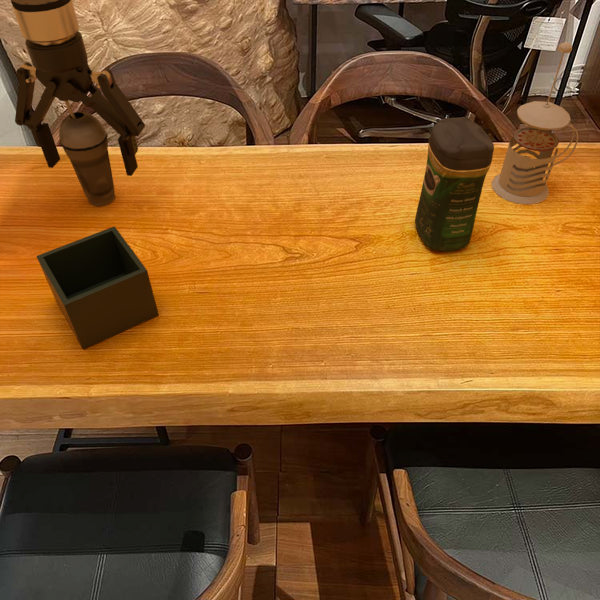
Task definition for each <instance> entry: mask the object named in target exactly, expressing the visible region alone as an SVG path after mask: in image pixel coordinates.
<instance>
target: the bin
mask: <svg viewBox="0 0 600 600" xmlns="http://www.w3.org/2000/svg"><path fill="white" fill-rule="evenodd" d="M36 258H37V261H38V263H39V266H40V268H41V270H42V272H43V275H44V277H45V279H46V282H47V284H48V286H49V288H50V291H51V293H52V296H53V298H54V299H55V302H56V304H57V306H58V307H59V309H60V311H61V313H62V314H63V317H64V318H65V320H66V322H67V323H68V326H69V327H70V330H71V331H72V333H73V335H74V337H75V338H76V340H77V342H78V343H79V345H80V348H81V349H82V350H86V349H88V348H91V347H92V346H95V345H97V344H99V343H102V342H103V341H105V339H106V340H108V339H110V338H113V337H114V336H116V335H119V334H121V333H123V332H125V331H128V330H129V329H132V328H134V327H136V326H138V325H140V324H143V323H145V322H147V321H150V320H152V319H154V318H157V317H158V316H159V315H160V314H159V311H158V306H157V303H156V299H155V295H154V292H153V288H152V283H151V279H150V276H149V271H148V269H147V268H146V267H145V265H144V264H143V262H142V261H141V260H140V258H139V257H138V255H137V254H136V253H135V252H134V250H133V249H132V248H131V246H130V245H129V243H128V242H127V241H126V240H125V238H124V237H123V235H122V234H121V233H120V231H119V230H118V228H117V227H116V226H111V227H108V228H106V229H104V230H101V231H98V232H95V233H93V234H90V235H87V236H85V237H83V238H82V237H81V238H80V239H77V240H75V241H72V242H70V243H67V244H64V245H62V246H59V247H56V248H54V249H51V250H47V251H46V252H43V253H40V254H38V255H36Z"/></svg>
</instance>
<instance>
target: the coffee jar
mask: <svg viewBox="0 0 600 600" xmlns="http://www.w3.org/2000/svg"><path fill="white" fill-rule="evenodd" d="M494 150H495V143H494V142H493V141H492V139H491V138H490V136H489V135H488V134H487V132H486V131H485V130H484V129H483V127H481V126H480V125H479V124H478V123H476V122H474V120H471V119H470V118H469V117H467V116H465V117H463V116H461V117H446V118H442V119H440V120H439V121H438V122H437V123H436V124H435V125H434V126H433V128H432V130H431V132H430V137H429V140H428V145H427V158H426V166H425V170H424V171H425V172H424V177H423V181H422V185H421V191H420V196H419V200H418V204H417V208H416V213H415V216H414V217H415V218H414V225H415V229H416V232H417V234H418V236H419V237H420V239H421V241H422V242H423V244H424V246H426V247H427V248H428V249H430V250H433V251H436V252H444V253H445V252H447V253H448V252H450V253H451V252H457V251H459V250H462V249H465V248H467V247H468V246H469V245H470V242H471V240H472V235H473V231H474V227H475V222H476V218H477V217H476V216H477V212H478V208H479V204H480V199H481V195H482V192H483V187H484V183H485V180H486V177H487V174H488V172H489V171H490V168H491V166H492V162H493V156H494V152H495V151H494Z"/></svg>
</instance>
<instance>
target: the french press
mask: <svg viewBox="0 0 600 600" xmlns="http://www.w3.org/2000/svg"><path fill="white" fill-rule="evenodd" d="M557 51H558V52H560V53H562V55H561V58H560V61H559V65H558V67H557V71H556V72H555V73H556V74H555V76H554V79H553V82H552V86H551V89H550V92H549V94H548V95H549V96H548V98H547V101H539V100H534V101H529V102H526V103H524V104H522V105H520V106H519V107H518V108H517V110H516V113H517V118H518V119H519V120H520V122H522V123H523V124H524V125H526V126H524V127H520V128H518V129H516V130H515V131H514V133H513V134H512V137H511V138H510V140H509V143H508V145H507V150H506V152H505V156H504V160H503V163H502V166H501V170H500V173H499V174H497V175H495V176H494V177H493V178H492V180H491V189H492V190H493V191H494V193H496V195H497V196H499V197H501V198H503V199H504V200H505V201H508V202H511V203H514V204H518V205H519V204H520V205H535V204H539V203H542V202H543V201H545V200H547V199H548V197H549V195H550V189H549V186H548V185H547V182H548V180H549V178H550V174H551V173H552V170H553V167H555V166H556V165H559V164H562V163H564V162H565V161H567V159H568V158H570V157H571V155H572V154H573V153H574V151H575V150H576V148H577V145H578V142H579V133H578V130H577V129H576V128H575V126H574V125H573V123H572V122H571V117H570V113H569V112H568V111H566V109H564V107H563V106H562V107H561V106H560V105H557V104H555V103H553V102H552V101H550V99H551V96H552V93H553V90H554V87H555V85H556V84H555V83H556V81H557V77H558V75H559V72H560V68H561V65H562V63H563V59H564V56H565V54H571V52H572V51H573V46H572V43H571V42H570V41H569V42H568V41H564V42H562V43H559V45H558V47H557ZM568 127H569V128H570V129H572V135H571V139H570V142H569V143H568V145H567V146H566V148H565V149H564V150H563V151H562V152H561V153H559V154H558V152H559V149H558V145H559V144H560V140H559V137H558V136H557V135H556V134H555V133H554V132H553V131H557V130H560V131H561V132H562V133H565V131H566V130H567V128H568ZM563 128H564V129H563ZM575 137H576V139H575V143H574V145H573V148H572V150H571V151H570V152H569V154H568V155H567V156H566V157H565V158H563V159H562V160H560V161H556V162H555V160H556V159H557V158H559V157H561V156H563V154H565V153H566V152H567V150H568V149H569V148H570V146H571V145H572V143H573V140H574V138H575ZM514 146H515V147H514ZM513 147H514V148H513ZM521 148H524V149H521ZM518 149H519V150H518ZM554 149H555V150H554ZM517 150H518V151H517ZM537 152H538V153H537ZM522 154H528V155H530V156H533V158H532V157H529V156H527V155H522ZM557 154H558V155H557ZM552 155H553V156H552ZM534 157H535V158H534ZM544 178H545V179H544Z"/></svg>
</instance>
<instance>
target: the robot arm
mask: <svg viewBox="0 0 600 600" xmlns="http://www.w3.org/2000/svg"><path fill="white" fill-rule="evenodd" d="M10 3H11V6H12V9H13V11H14V15H15V18H16V22H17V24H18V27H19V30H20V33H21V36H22V37H23V38H24V39H25V47H26V49H27V53H28V54H29V55H28V56H29V58H30V61H31V62H28V61H25V62H24V63H23V64H22V65H20V67H19V68H17V69H16V70H15V71H16V72H15V73H16V77H17V82H18V91H17V98H16V99H17V100H16V106H15V116H14V123H15V124H16V125H17V126H25V127H27V129H28V130H30V131H31V135H32V137H33V140H34V142H35V145H36V146H37V147H38V148H41V151H42V153H43V157H44V159H45V163H46V164H47V167H48V168H49V169H50V168H51V169H53V168H55V166H56V165H57V164H58V162H60V160H61V157H60V153H59V150H58V148H57V144H56V142H55V139H54V137H53V133H52V131H51V128H50V125H49V123H48V122H43V121H45V117H46V115H47V113H48V112H49V110H50V108H51V106H52V104H53V102H54V100H55V99H58V101H59V102H65V101H67V100H68V101H70V102H73V103H80V102H81V103H82V104H83V105H84V106H86V107H87V108H91V109H92V110H93V111H94V112H95V113H96V114H97V115H98V116H99V117H100V118H101V119H102V120H103V121H104V122H105V123H107V125H109V126H110V127H111V128H112V129H113V130H114V131H115V132H116V133H117V134H118V135H119V137H118V138H117V143H118V146H119V151H120V154H121V158H122V162H123V165H124V169H125V173H126V176H127V177H132V176H133V175H134V174H135V172H136V170H137V169H138V167H139V166H138V161H137V157H136V154H137V153H138V151H139V147H138V142H137V138H136V137H139V136H140V135H141V134H142V132H143V130H145V127H146V124H145V122H144V121H143V120H142V117H140V115H139V114H138V113H137V111H136V110H135V108H134V107H133V106H132V104H131V103H130V100H129V99H128V98H127V97H126V96H125V94H124V92H123V91H122V90H121V88H120V87H119V86H118V84H117V82H116V80H115V77H114V74H113V71H112V70H111V68H109V67H108V68H107V67H106V68H104V70H103V71H93V70H92V69H91V67H90V65H89V63H88V61H89V60H88V53H87V49H86V46H85V42H84V39H83V35H82V33H81V32H80V31H79V29H80V25H79V21H78V18H77V14H76V10H75V6H74V2H73V0H10ZM36 80H38V81H39V82H40V83H41V85H42V86H43V87H44V90H43V91H42V94H41V95H40V99H39V101H38V103H37V105H36V107H35V109H34V111H33V113H32V106H33V100H34V92H35V84H36ZM94 83H95V84H96V85H95V84H94ZM89 93H90V94H91V96H89ZM42 122H43V123H42Z"/></svg>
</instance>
